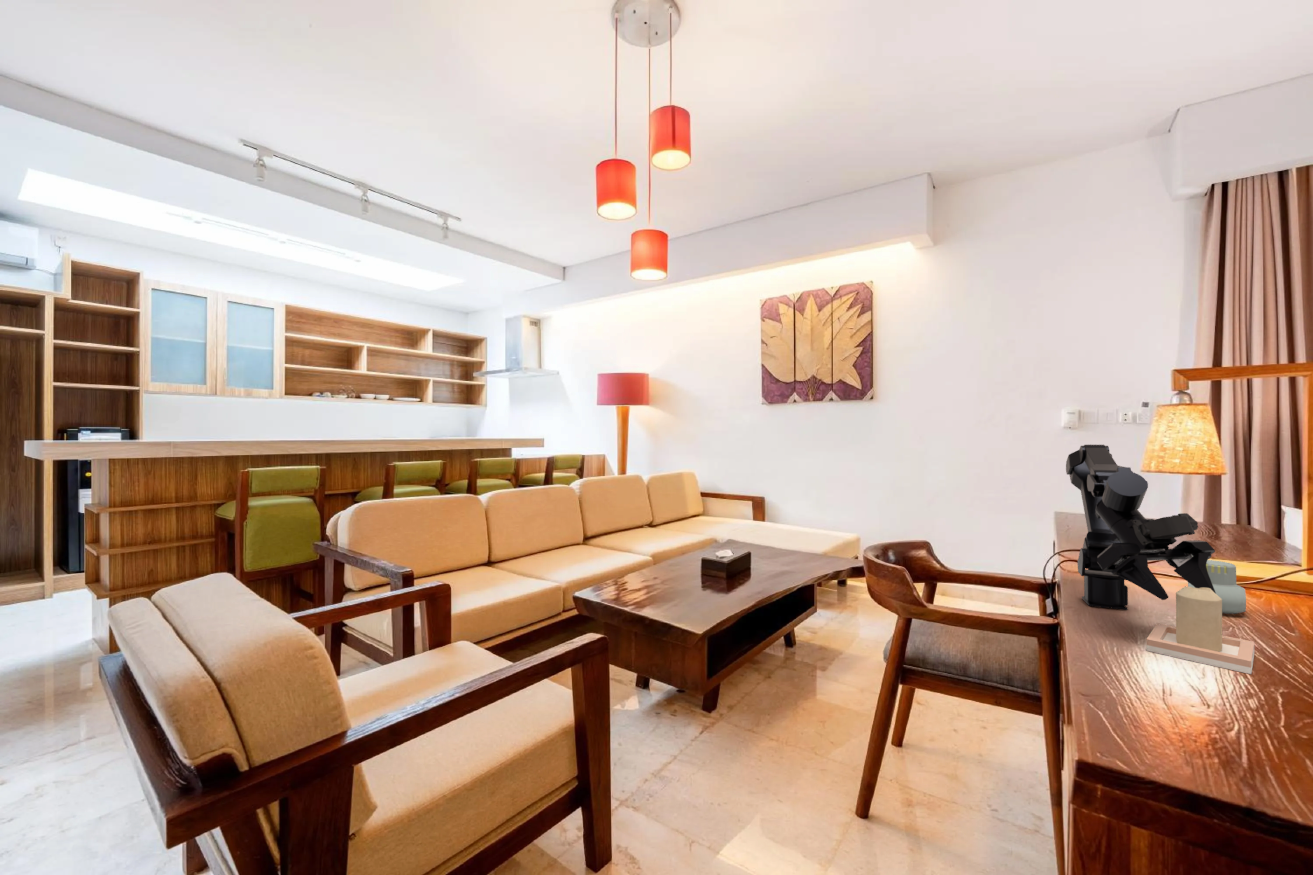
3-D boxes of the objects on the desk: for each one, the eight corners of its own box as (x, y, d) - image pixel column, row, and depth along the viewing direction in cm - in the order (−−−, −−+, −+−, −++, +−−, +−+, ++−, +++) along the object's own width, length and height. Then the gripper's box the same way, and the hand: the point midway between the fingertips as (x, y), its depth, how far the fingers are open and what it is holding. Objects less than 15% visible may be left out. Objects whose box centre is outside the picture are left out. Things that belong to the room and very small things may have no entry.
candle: (1208, 641, 92) (1208, 584, 92) (1230, 653, 87) (1230, 593, 87) (1169, 637, 94) (1168, 581, 94) (1188, 649, 89) (1187, 590, 89)
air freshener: (1188, 600, 119) (1188, 555, 119) (1243, 608, 113) (1243, 561, 113) (1187, 611, 111) (1187, 563, 111) (1246, 621, 105) (1246, 570, 105)
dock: (1251, 674, 82) (1251, 661, 82) (1146, 650, 91) (1146, 638, 91) (1254, 653, 90) (1254, 641, 90) (1157, 633, 99) (1157, 622, 99)
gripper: (1111, 499, 96) (1176, 575, 86) (1203, 497, 98) (1278, 571, 87) (1073, 534, 104) (1128, 608, 93) (1159, 531, 106) (1223, 604, 95)
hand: (1189, 597), depth 92 cm, fingers open, 9 cm apart
